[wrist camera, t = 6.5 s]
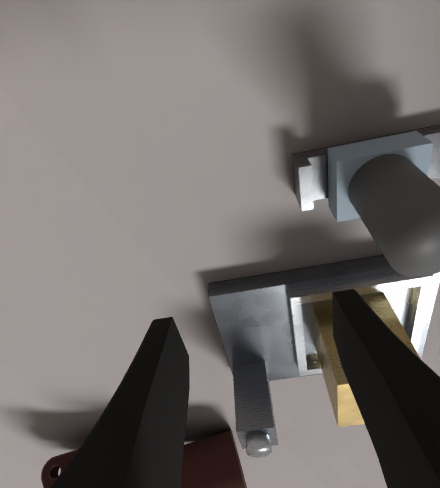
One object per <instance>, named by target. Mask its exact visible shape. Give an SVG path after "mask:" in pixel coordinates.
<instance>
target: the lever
mask: <svg viewBox="0 0 440 488" xmlns="http://www.w3.org/2000/svg"><path fill="white" fill-rule="evenodd" d="M432 148H433V142H431V141H430V140H429V139H427V138H426V137H424V136H423V135H422V134H420V133H419V132H418V131H413V132H408V133H403V134H398V135H393V136H388V137H383V138H378V139H372V140H367V141H362V142H357V143H352V144H347V145H342V146H337V147H332V148H328V194H329V208H330V210H331V212H332V214H333V215H334V217H335V219H336V221H337V222H341V221H347V220H352V219H358V218H361V220H362V221H363V223H364V224H365V226H366V227H367V229H368V231H369V232H370V234H371V235H372V237H373V238H374V240H375V242H376V243H377V245H378V246H379V248H380V250H381V251H382V253H383V254H384V256H385V257H386V259H387V261H388V262H389V264H390V265H391V267H392V268H393V269H394V270H395V271H397V272H398V273H400V274H402V275H405V276H411V277H423V276H429V275H433V274H436V273H439V272H440V187H439V186H438V185H437V184H436V183H435V182H434V181H432V180H431V179H430V178H429V177H428V172H429V166H430V160H431V154H432Z"/></svg>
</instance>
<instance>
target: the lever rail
mask: <svg viewBox="0 0 440 488" xmlns="http://www.w3.org/2000/svg"><path fill="white" fill-rule="evenodd" d="M413 131H418V132H419V133H420V134H422V135H423V136H424V137H426V138H427V139H429V140H430V141H431V142H433V148H432V154H431V160H430V166H429V172H428V177H429V178H430V179H434V178H439V177H440V125H438V126H433V127H428V128H423V129H418V130H413ZM413 131H408V132H413ZM408 132H403V133H408ZM403 133H397V134H392V135H387V136H382V137H377V138H372V139H378V138H383V137H388V136H393V135H398V134H403ZM372 139H367V140H372ZM367 140H362V141H367ZM362 141H357V142H362ZM357 142H352V143H357ZM352 143H347V144H352ZM347 144H342V145H347ZM342 145H336V146H331V147H326V148H321V149H316V150H311V151H306V152H301V153H296V154H292V159H293V171H294V183H295V195H296V198H297V201H298V203H299V206H300V208H301V211H305V210H311V209H314V205H313V200H319V199H324V198H329V194H328V148H332V147H337V146H342Z"/></svg>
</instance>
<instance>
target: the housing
mask: <svg viewBox="0 0 440 488" xmlns="http://www.w3.org/2000/svg"><path fill="white" fill-rule="evenodd" d="M363 299H364V301H365V302H366V303H367V304H368V305H369V307H370V308H371V309H372V310H373V311H374V312H375V313H376V315H377V316H378V317H379V318H380V319H381V320H382V321H383V322H384V323H385V324H386V325H387V326H388V328H389V329H390V330H391V331H392V332H393V333H394V334H395V335H396V336H397V337H398V338H399V339H400V340H401V341H402V342H403V343H404V344H405V345H406V346H407V347H408V348H409V349H410V350H411V351H412V352H413V353H414V354H415V355H416V356H417V357H419V355H418V353H417V351H416V350H415V348H414V346H413V344H412V342H411V341H410V339H409V337H408V335H407V333H406V332H405V330H404V328H403V326H402V324H401V323H400V321H399V319H398V317H397V315H396V314H395V312H394V310H393V308H392V306H391V305H390V303H389V301H388V299H387V297H386V296H385V295H381V296H374V297H368V298H363ZM313 318H314V332H315V346H316V352H317V355H318V359H319V362H320V366H321V369H322V373H323V376H324V380H325V383H326V387H327V390H328V394H329V397H330V401H331V404H332V408H333V411H334V415H335V418H336V422H337V425H338V427H342V426H350V425H359V424H365V423H364V420H363V418H362V415H361V413H360V410H359V408H358V406H357V403H356V401H355V398H354V396H353V393H352V391H351V388H350V386H349V383H348V381H347V378H346V376H345V373H344V371H343V368H342V365H341V362H340V359H339V355H338V352H337V348H336V345H335V341H334V338H333V306H332V303H329V304H323V305H317V306H313ZM419 358H420V357H419Z"/></svg>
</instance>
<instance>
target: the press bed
mask: <svg viewBox="0 0 440 488" xmlns="http://www.w3.org/2000/svg"><path fill="white" fill-rule="evenodd" d="M439 281H440V272H439V273H436V274H433V275H429V276H423V277H411V276H405V275H402V274H400V273H398V272H397V271H395V270H394V269H393V268H392V267H391V265H390V264H389V262H388V261H387V259H386V257H385V256H384V255H381V256H375V257H369V258H363V259H356V260H350V261H344V262H338V263H332V264H326V265H320V266H314V267H307V268H301V269H295V270H289V271H283V272H277V273H271V274H265V275H258V276H252V277H246V278H240V279H234V280H228V281H222V282H215V283H209V284H208V297H209V301H210V304H211V307H212V310H213V313H214V316H215V320H216V323H217V326H218V329H219V332H220V336H221V339H222V342H223V345H224V348H225V352H226V355H227V358H228V361H229V364H230V368H231V371H232V374H233V380H234V398H235V415H236V432H237V435H238V438H239V440H240V443H241V446H242V449H244V448H246V453H247V454H248V455H249V456H252V457H264V456H267V455H269V454H270V453H271V452H272V449H271V445H278V441H277V434H276V427H275V420H274V414H273V407H272V400H271V393H270V386H269V381H271V380H279V379H287V378H294V377H302V376H309V375H317V374H323V373H322V369H321V366H320V362H319V359H318V355H317V352H316V346H315V332H314V318H313V306H317V305H323V304H329V303H332V292H336V291H343V290H349V289H354V290H356V291H357V292H358V293H359V295H360V296H361V297H362V298H368V297H374V296H381V295H385V296H386V297H387V299H388V301H389V303H390V305H391V306H392V308H393V310H394V312H395V314H396V315H397V317H398V319H399V321H400V323H401V324H402V326H403V328H404V330H405V332H406V333H407V335H408V337H409V339H410V341H411V342H412V344H413V346H414V348H415V350H416V351H417V353H418V355H419V357H420V359H421V357H422V353H423V349H424V345H425V340H426V336H427V332H428V328H429V323H430V319H431V315H432V311H433V306H434V302H435V298H436V294H437V289H438V285H439Z"/></svg>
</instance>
